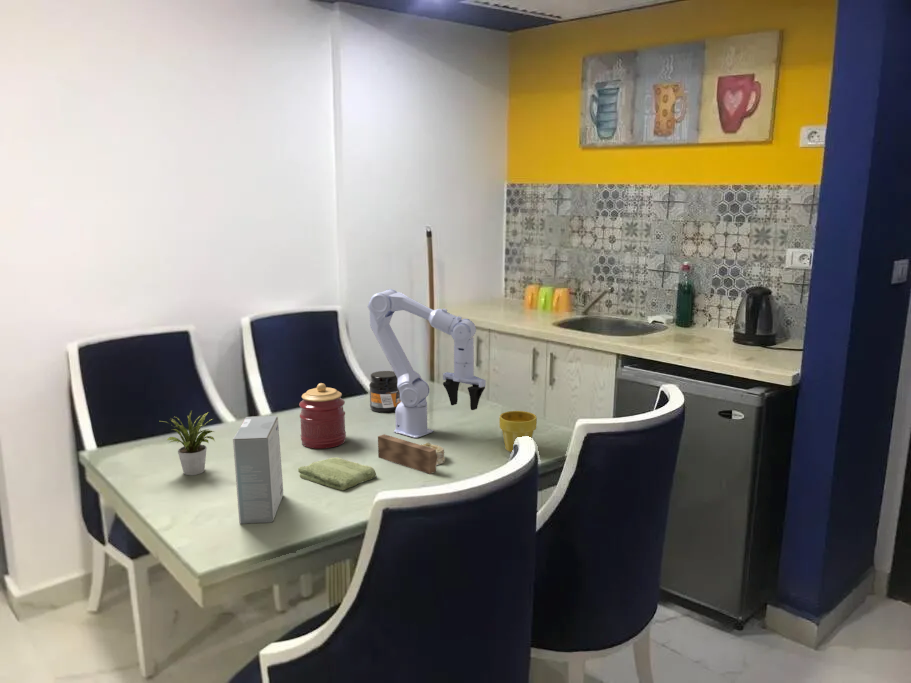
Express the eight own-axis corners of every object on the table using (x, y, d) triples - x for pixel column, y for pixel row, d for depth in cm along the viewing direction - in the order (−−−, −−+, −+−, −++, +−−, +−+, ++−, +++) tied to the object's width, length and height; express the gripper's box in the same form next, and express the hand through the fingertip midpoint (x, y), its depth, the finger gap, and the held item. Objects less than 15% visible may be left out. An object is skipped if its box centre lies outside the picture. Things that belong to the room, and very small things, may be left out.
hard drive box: (251, 495, 176) (246, 416, 172) (283, 494, 176) (279, 415, 172) (238, 524, 160) (232, 437, 156) (273, 523, 161) (268, 436, 157)
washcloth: (333, 463, 198) (332, 451, 197) (379, 478, 187) (379, 466, 186) (294, 477, 188) (293, 465, 187) (341, 495, 177) (340, 482, 176)
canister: (315, 452, 204) (313, 391, 201) (292, 441, 214) (289, 382, 210) (354, 442, 213) (353, 383, 209) (331, 431, 222) (328, 375, 219)
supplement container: (388, 415, 239) (387, 379, 236) (363, 410, 244) (362, 375, 242) (407, 407, 247) (407, 372, 245) (383, 402, 253) (382, 368, 251)
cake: (409, 456, 203) (409, 437, 203) (445, 456, 204) (445, 437, 203) (409, 467, 194) (409, 447, 193) (447, 466, 194) (447, 446, 194)
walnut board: (378, 457, 201) (377, 436, 200) (384, 454, 202) (384, 434, 201) (429, 474, 189) (429, 451, 187) (436, 471, 190) (435, 449, 189)
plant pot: (534, 456, 201) (534, 422, 199) (496, 454, 203) (497, 420, 201) (537, 444, 211) (538, 411, 209) (501, 442, 213) (502, 409, 211)
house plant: (163, 487, 181) (157, 424, 177) (157, 469, 193) (151, 409, 190) (222, 477, 187) (218, 415, 184) (213, 459, 199) (209, 402, 196)
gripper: (435, 360, 214) (436, 405, 216) (474, 368, 204) (474, 414, 207) (451, 356, 219) (451, 400, 222) (490, 363, 210) (489, 409, 212)
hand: (463, 406), depth 215 cm, fingers open, 7 cm apart
